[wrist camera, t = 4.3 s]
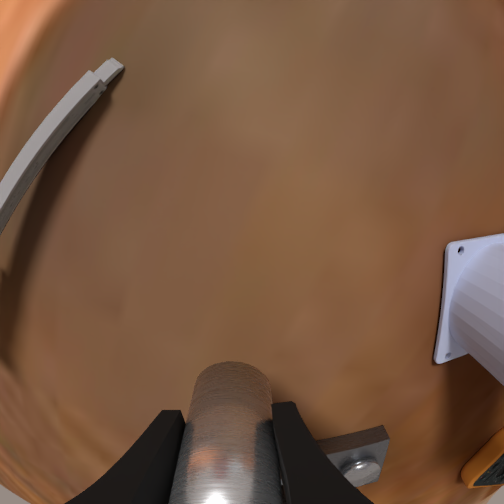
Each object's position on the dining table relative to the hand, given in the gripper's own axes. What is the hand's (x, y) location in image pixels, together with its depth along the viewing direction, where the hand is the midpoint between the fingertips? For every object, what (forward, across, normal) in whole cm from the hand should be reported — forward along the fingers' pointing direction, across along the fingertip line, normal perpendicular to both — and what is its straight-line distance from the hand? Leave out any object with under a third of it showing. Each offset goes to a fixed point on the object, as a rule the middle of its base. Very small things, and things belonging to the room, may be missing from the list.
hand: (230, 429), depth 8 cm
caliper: (+8, +12, -8) cm, 16 cm away
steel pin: (+2, 0, 0) cm, 2 cm away
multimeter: (+8, -30, +27) cm, 41 cm away
